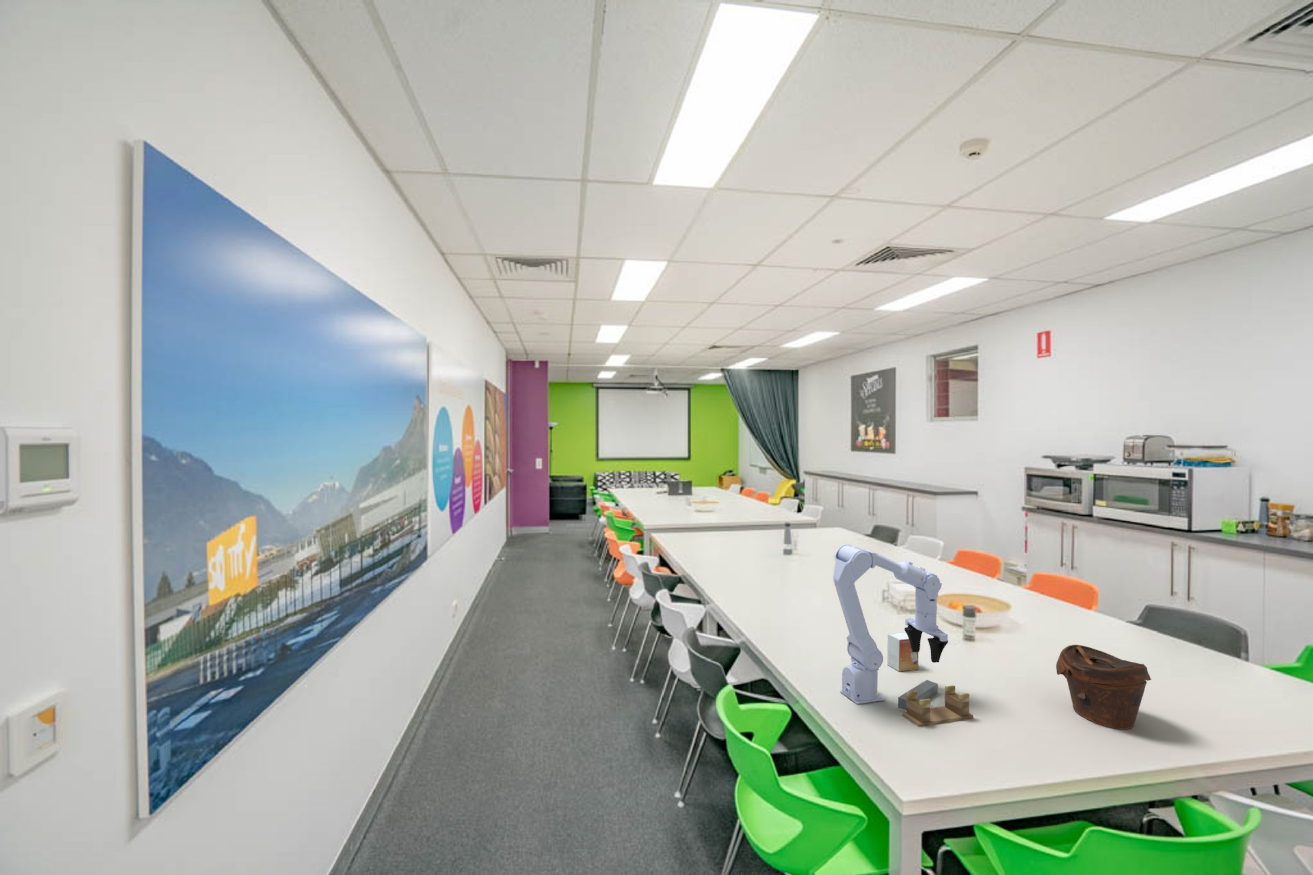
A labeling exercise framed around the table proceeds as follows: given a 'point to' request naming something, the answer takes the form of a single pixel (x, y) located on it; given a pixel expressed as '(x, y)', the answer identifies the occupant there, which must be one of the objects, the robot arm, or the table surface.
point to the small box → (901, 653)
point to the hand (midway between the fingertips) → (925, 656)
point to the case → (1103, 685)
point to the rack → (937, 708)
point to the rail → (919, 693)
